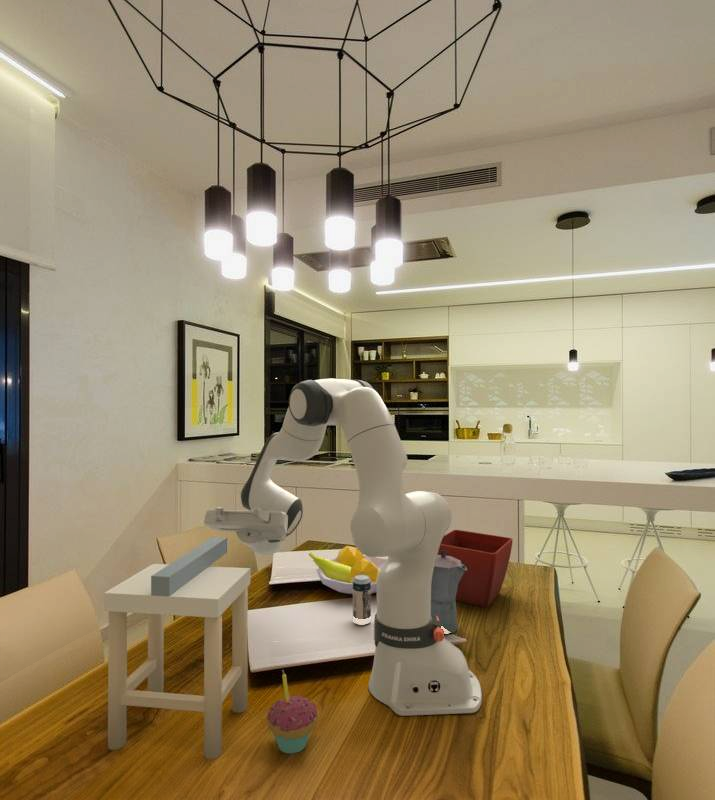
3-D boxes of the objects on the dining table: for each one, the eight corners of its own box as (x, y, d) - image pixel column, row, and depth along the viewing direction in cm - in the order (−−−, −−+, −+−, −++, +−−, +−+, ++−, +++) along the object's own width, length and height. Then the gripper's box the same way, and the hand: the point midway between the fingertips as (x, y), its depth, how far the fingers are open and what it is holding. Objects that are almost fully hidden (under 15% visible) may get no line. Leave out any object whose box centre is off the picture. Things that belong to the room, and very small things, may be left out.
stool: (250, 704, 93) (250, 568, 94) (217, 760, 78) (218, 599, 79) (152, 695, 96) (153, 563, 96) (103, 749, 81) (104, 592, 81)
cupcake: (257, 753, 80) (257, 680, 80) (283, 722, 88) (284, 655, 88) (303, 768, 77) (303, 691, 77) (326, 734, 85) (327, 665, 85)
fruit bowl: (405, 575, 164) (405, 541, 164) (392, 608, 137) (392, 568, 137) (325, 569, 170) (325, 536, 170) (299, 599, 144) (299, 560, 144)
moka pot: (460, 642, 118) (460, 559, 118) (403, 627, 126) (403, 549, 126) (473, 627, 126) (473, 549, 126) (419, 613, 134) (419, 540, 134)
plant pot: (513, 592, 149) (513, 537, 149) (495, 615, 133) (495, 553, 133) (454, 580, 159) (454, 528, 159) (430, 600, 143) (430, 542, 143)
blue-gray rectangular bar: (227, 552, 104) (227, 537, 104) (169, 596, 80) (169, 576, 80) (212, 551, 104) (213, 536, 104) (151, 595, 80) (151, 576, 80)
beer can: (369, 627, 125) (369, 580, 126) (351, 625, 126) (351, 579, 127) (372, 619, 130) (372, 574, 130) (354, 617, 131) (354, 573, 131)
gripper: (218, 514, 128) (197, 497, 116) (294, 517, 126) (280, 499, 114) (213, 538, 125) (191, 523, 113) (290, 541, 122) (276, 526, 111)
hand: (237, 511), depth 113 cm, fingers open, 8 cm apart
